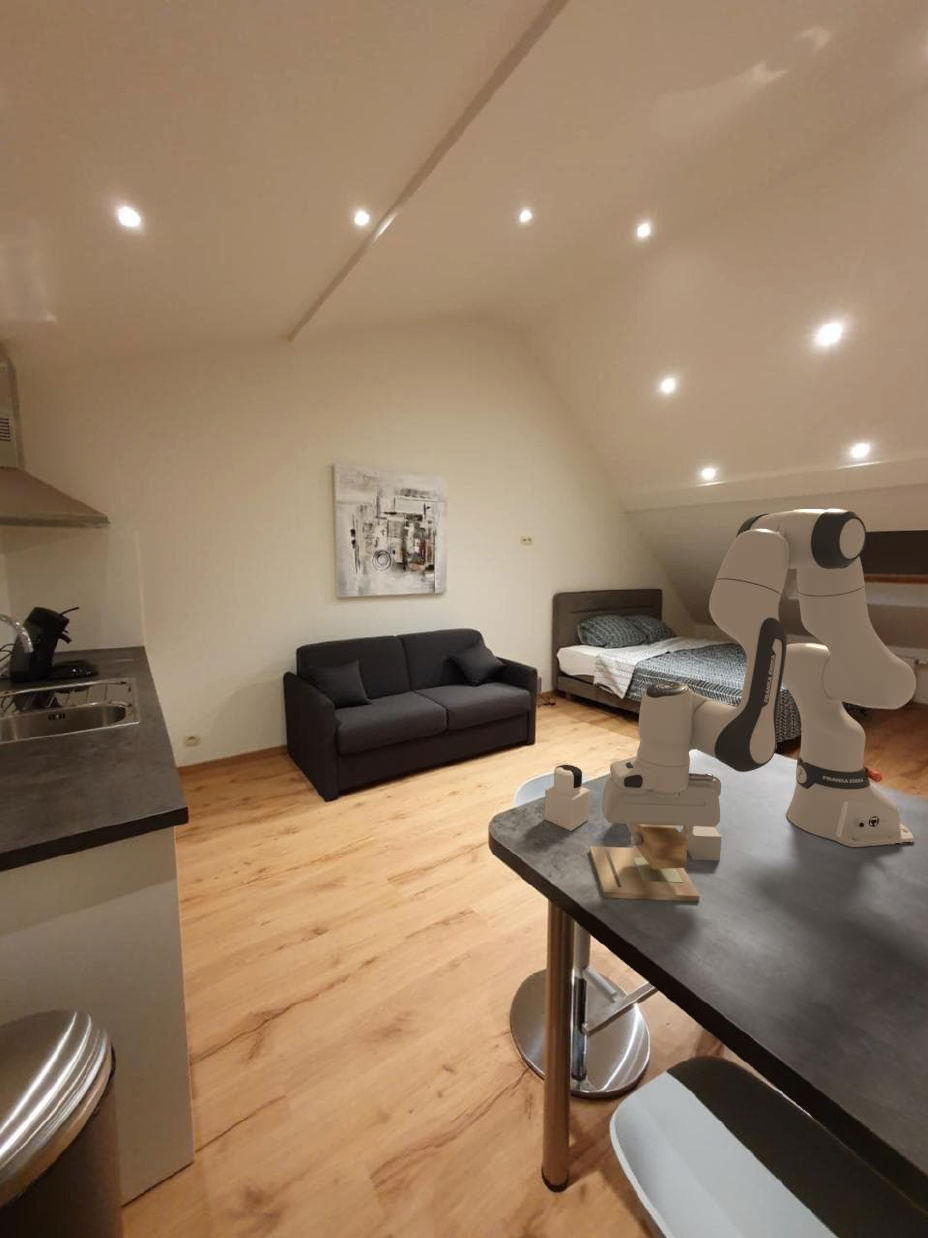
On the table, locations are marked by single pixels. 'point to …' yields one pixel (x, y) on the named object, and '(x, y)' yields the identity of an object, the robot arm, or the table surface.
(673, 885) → the plate
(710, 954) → the table surface
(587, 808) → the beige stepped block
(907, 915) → the table surface
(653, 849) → the oak block
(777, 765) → the table surface
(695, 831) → the top cube
